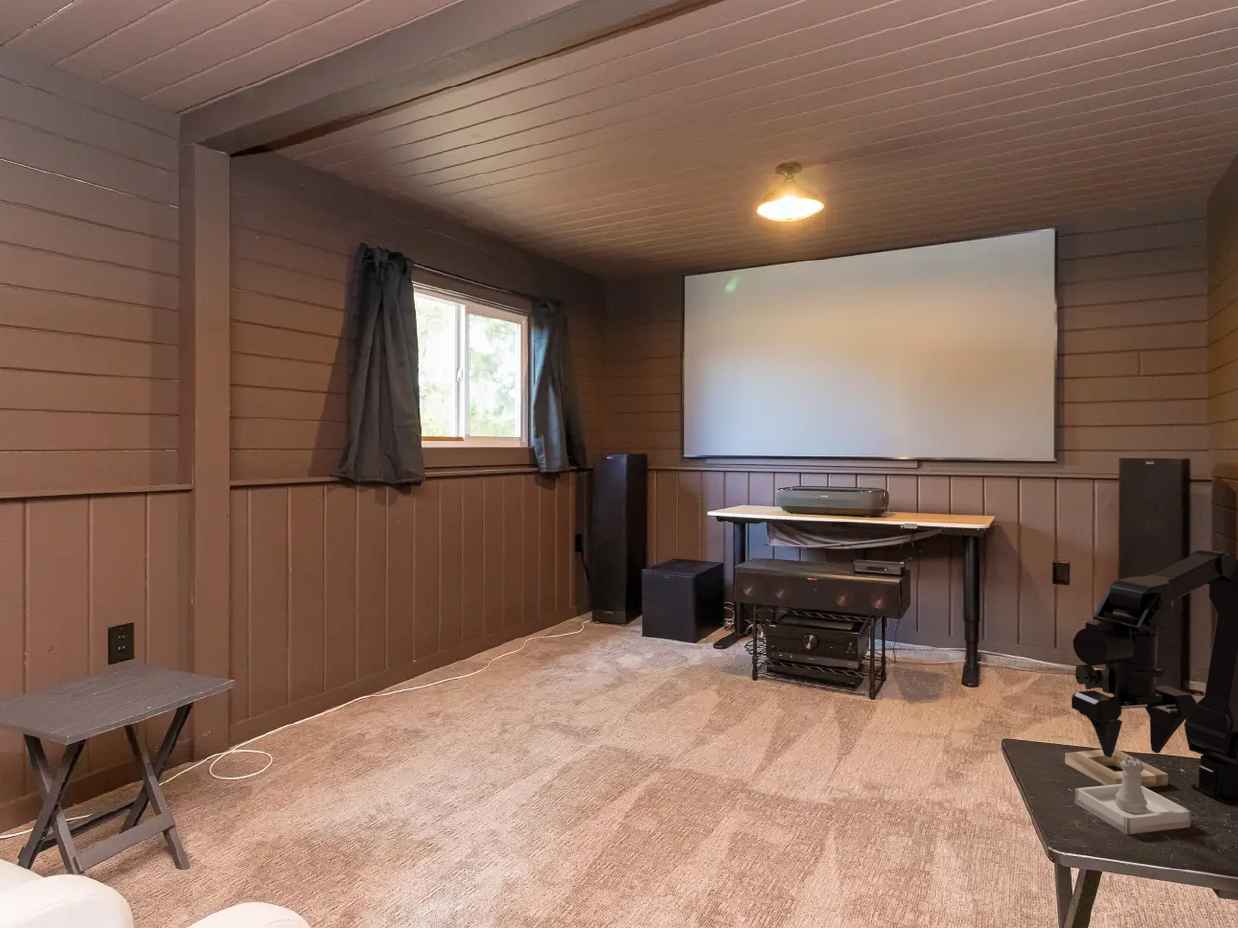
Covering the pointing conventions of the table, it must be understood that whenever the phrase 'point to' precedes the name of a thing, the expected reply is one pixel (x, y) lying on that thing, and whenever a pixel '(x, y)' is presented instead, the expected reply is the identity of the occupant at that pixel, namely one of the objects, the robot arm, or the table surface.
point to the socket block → (1095, 768)
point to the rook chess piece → (1131, 788)
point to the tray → (1154, 819)
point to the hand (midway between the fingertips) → (1131, 754)
